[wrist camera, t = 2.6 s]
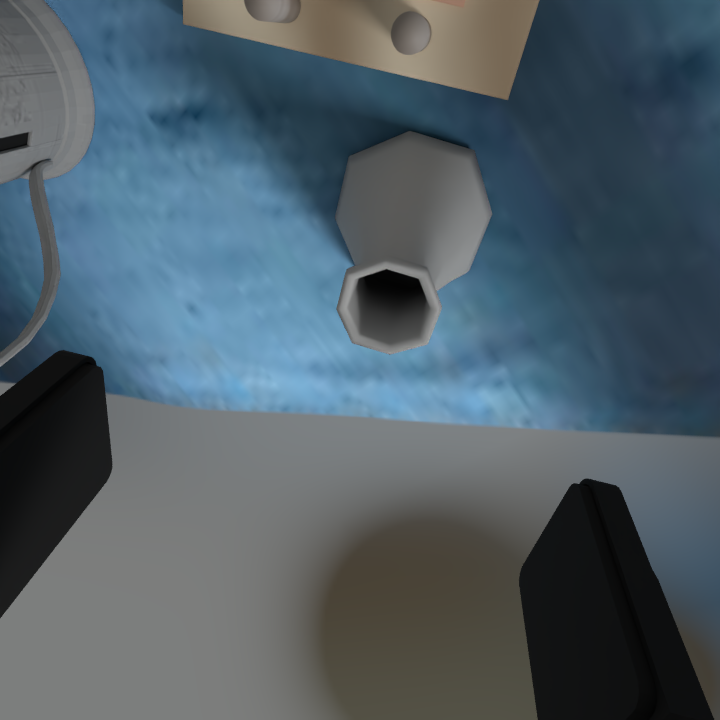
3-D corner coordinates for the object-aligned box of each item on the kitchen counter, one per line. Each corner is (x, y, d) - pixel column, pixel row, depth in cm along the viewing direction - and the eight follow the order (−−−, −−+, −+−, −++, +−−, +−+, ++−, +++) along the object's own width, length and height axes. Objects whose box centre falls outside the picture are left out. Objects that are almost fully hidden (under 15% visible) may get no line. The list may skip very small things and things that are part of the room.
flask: (487, 285, 25) (502, 410, 17) (342, 286, 26) (289, 401, 18) (497, 124, 21) (523, 181, 13) (328, 134, 22) (252, 191, 14)
